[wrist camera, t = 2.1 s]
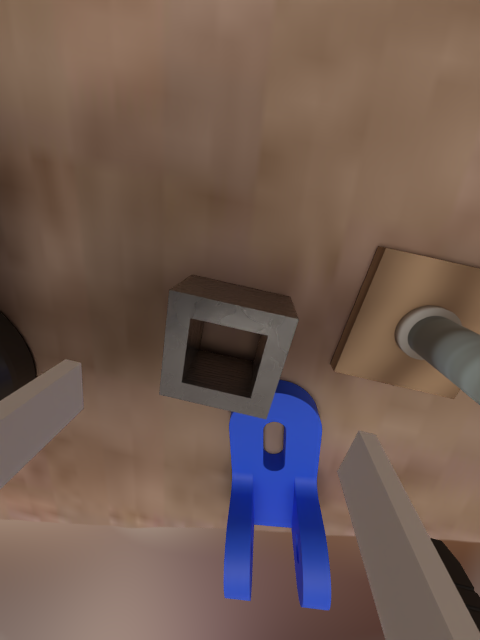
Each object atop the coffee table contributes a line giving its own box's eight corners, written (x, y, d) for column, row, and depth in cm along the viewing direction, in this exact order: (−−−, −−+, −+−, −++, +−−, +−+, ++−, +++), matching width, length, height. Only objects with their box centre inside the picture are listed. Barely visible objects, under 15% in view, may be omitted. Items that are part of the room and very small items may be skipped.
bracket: (307, 508, 28) (326, 627, 20) (237, 503, 29) (226, 615, 21) (320, 379, 22) (356, 475, 13) (230, 377, 22) (209, 465, 14)
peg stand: (330, 363, 21) (368, 442, 13) (378, 246, 17) (470, 261, 9) (443, 389, 21) (549, 484, 13) (516, 277, 17) (723, 317, 9)
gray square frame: (181, 359, 22) (159, 394, 17) (192, 274, 19) (169, 289, 14) (265, 378, 22) (266, 419, 17) (290, 296, 19) (298, 319, 14)
